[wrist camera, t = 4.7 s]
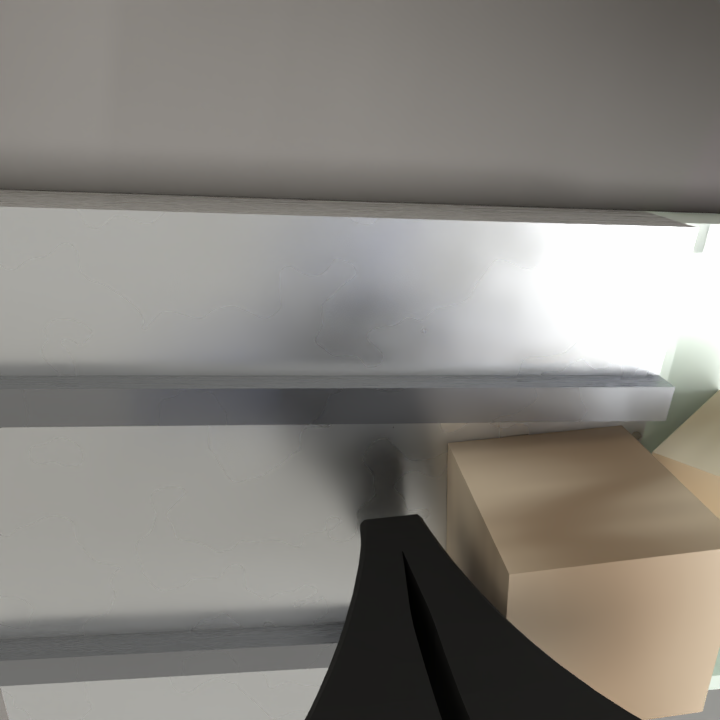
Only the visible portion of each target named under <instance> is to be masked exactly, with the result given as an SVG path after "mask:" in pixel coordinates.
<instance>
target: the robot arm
mask: <svg viewBox="0 0 720 720" xmlns="http://www.w3.org/2000/svg"><path fill="white" fill-rule="evenodd" d="M360 538H361V548H360V557H359V565H358V570H357V575H356V580H355V585H354V590H353V594H352V598H351V602H350V605H349V609H348V612H347V616H346V619H345V623H344V626H343V629H342V632H341V635H340V638H339V641H338V644H337V647H336V650H335V652H334V655H333V658H332V660H331V663H330V665H329V668H328V670H327V673H326V675H325V677H324V679H323V682H322V684H321V686H320V689H319V691H318V693H317V696H316V698H315V700H314V702H313V704H312V706H311V708H310V710H309V712H308V714H307V716H306V718H305V720H642V719H640V718H638V717H637V716H635V715H633V714H631V713H630V712H628V711H626V710H625V709H623V708H622V707H620V706H619V705H617V704H616V703H614V702H612V701H611V700H609V699H608V698H606V697H605V696H603V695H602V694H600V693H598V692H597V691H595V690H594V689H593V688H591V687H590V686H589V685H587V684H586V683H584V682H583V681H582V680H580V679H579V678H578V677H576V676H575V675H573V674H572V673H571V672H569V671H568V670H567V669H565V668H564V667H563V666H561V665H560V664H558V663H557V662H556V661H555V660H553V659H552V658H551V657H550V656H548V655H547V654H546V653H545V652H544V651H542V650H541V649H540V648H539V647H538V646H536V645H535V644H534V643H533V642H532V641H530V640H529V639H528V638H527V637H526V636H525V635H524V634H523V633H521V632H520V631H519V630H518V629H517V628H516V627H515V626H514V625H513V624H512V623H511V622H509V621H508V620H507V619H506V618H505V617H504V616H503V615H502V614H501V613H500V612H499V611H498V610H497V609H496V608H495V607H494V606H493V605H492V604H491V603H490V602H489V601H488V600H487V599H486V597H485V596H484V595H483V594H482V593H481V592H480V591H479V590H478V589H477V588H476V587H475V586H474V585H473V583H472V582H471V581H470V580H469V579H468V578H467V576H466V575H465V574H464V573H463V572H462V571H461V569H460V568H459V567H458V566H457V565H456V564H455V562H454V561H453V560H452V559H451V557H450V556H449V555H448V554H447V552H446V551H445V550H444V548H443V547H442V546H441V544H440V543H439V542H438V540H437V539H436V538H435V536H434V535H433V533H432V532H431V531H430V529H429V528H428V526H427V525H426V523H425V522H424V520H423V518H422V517H420V516H419V515H418V514H412V515H403V516H393V517H384V518H375V519H366V520H364V521H363V522H362V523H361V524H360Z"/></svg>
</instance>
